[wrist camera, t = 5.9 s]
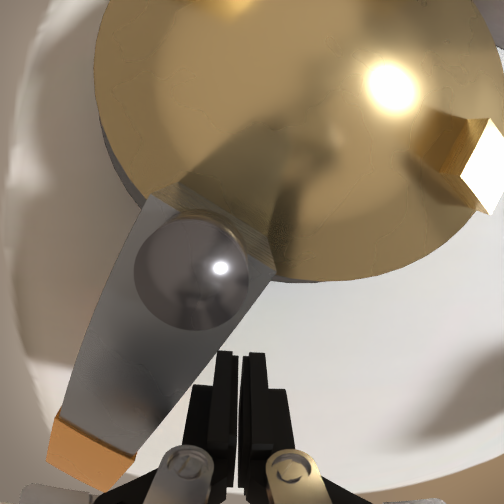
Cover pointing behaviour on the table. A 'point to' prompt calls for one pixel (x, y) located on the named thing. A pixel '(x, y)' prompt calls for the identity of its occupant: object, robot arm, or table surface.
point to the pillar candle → (493, 18)
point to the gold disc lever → (268, 178)
